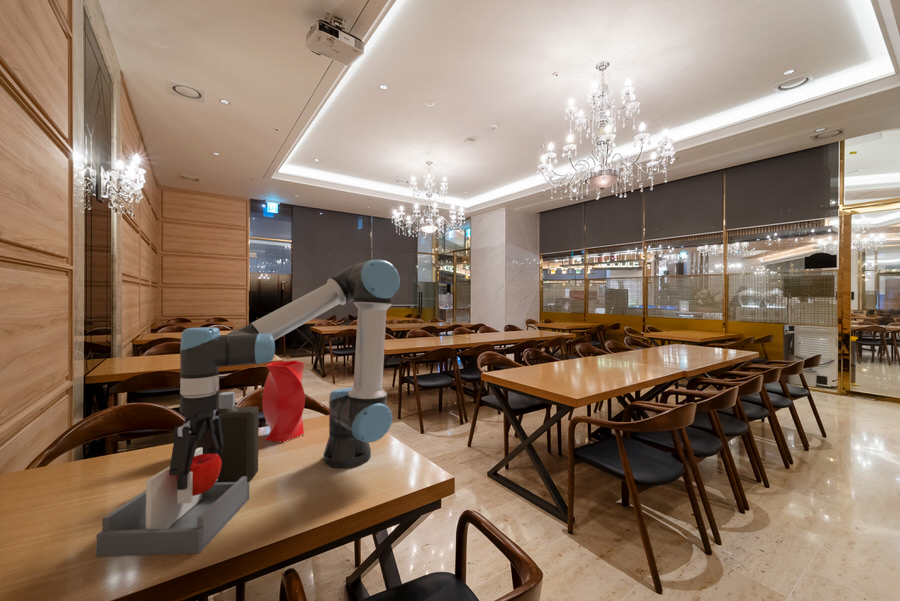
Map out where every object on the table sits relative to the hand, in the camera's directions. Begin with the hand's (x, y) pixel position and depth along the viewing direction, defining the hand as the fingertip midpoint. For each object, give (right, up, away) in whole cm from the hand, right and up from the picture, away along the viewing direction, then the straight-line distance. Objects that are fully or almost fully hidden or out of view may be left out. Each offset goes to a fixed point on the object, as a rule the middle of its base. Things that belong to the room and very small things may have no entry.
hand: (198, 490), depth 85 cm
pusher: (-7, -6, 0) cm, 10 cm away
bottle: (-7, -8, +22) cm, 24 cm away
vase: (-5, -8, +57) cm, 58 cm away
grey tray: (-4, -8, 0) cm, 8 cm away
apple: (0, 0, 0) cm, 0 cm away
